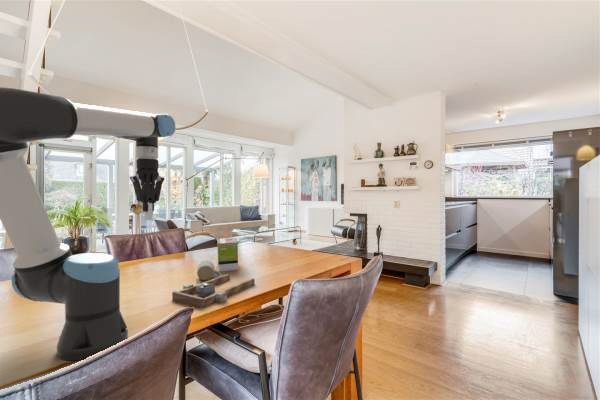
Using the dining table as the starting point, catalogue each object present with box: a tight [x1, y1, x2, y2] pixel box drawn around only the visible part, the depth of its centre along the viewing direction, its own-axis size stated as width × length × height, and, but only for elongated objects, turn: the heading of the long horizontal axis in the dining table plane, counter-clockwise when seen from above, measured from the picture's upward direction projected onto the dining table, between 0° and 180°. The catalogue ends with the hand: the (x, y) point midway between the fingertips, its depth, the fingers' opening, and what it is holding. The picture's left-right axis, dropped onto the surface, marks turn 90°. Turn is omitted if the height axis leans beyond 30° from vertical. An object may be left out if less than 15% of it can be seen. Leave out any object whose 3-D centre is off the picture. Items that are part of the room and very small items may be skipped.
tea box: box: [216, 237, 239, 273], centre depth 155 cm, size 15×10×15 cm, turn 17°
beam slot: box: [171, 273, 255, 309], centre depth 117 cm, size 29×20×3 cm
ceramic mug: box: [196, 260, 222, 282], centre depth 135 cm, size 11×8×8 cm
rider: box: [195, 282, 216, 298], centre depth 112 cm, size 7×7×5 cm
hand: (148, 219), depth 113 cm, fingers closed
